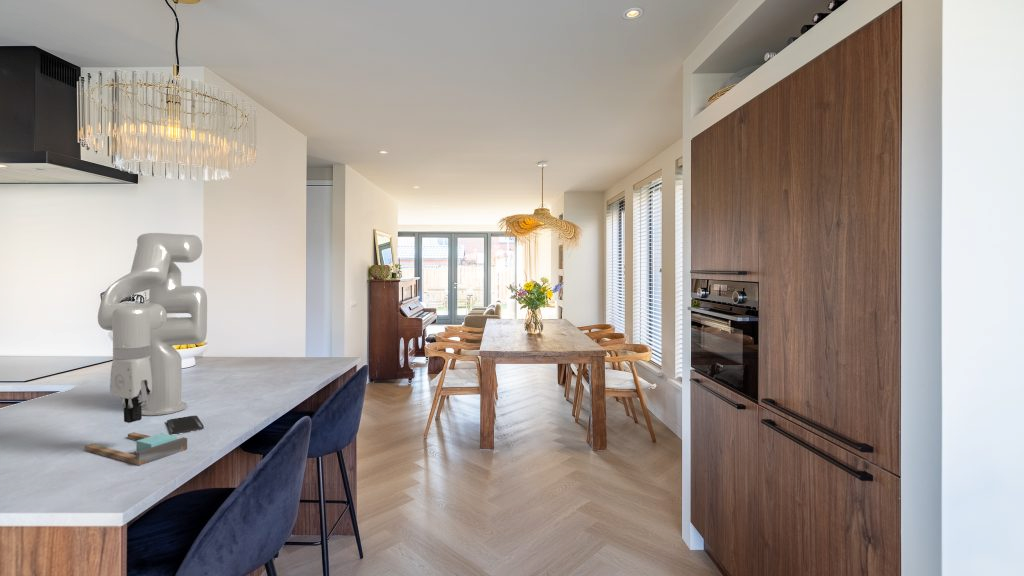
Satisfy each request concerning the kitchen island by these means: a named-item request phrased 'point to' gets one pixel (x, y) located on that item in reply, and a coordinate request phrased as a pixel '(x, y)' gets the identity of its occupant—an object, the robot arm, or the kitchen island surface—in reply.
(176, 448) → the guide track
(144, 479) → the kitchen island surface
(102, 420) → the kitchen island surface
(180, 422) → the phone
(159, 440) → the block
